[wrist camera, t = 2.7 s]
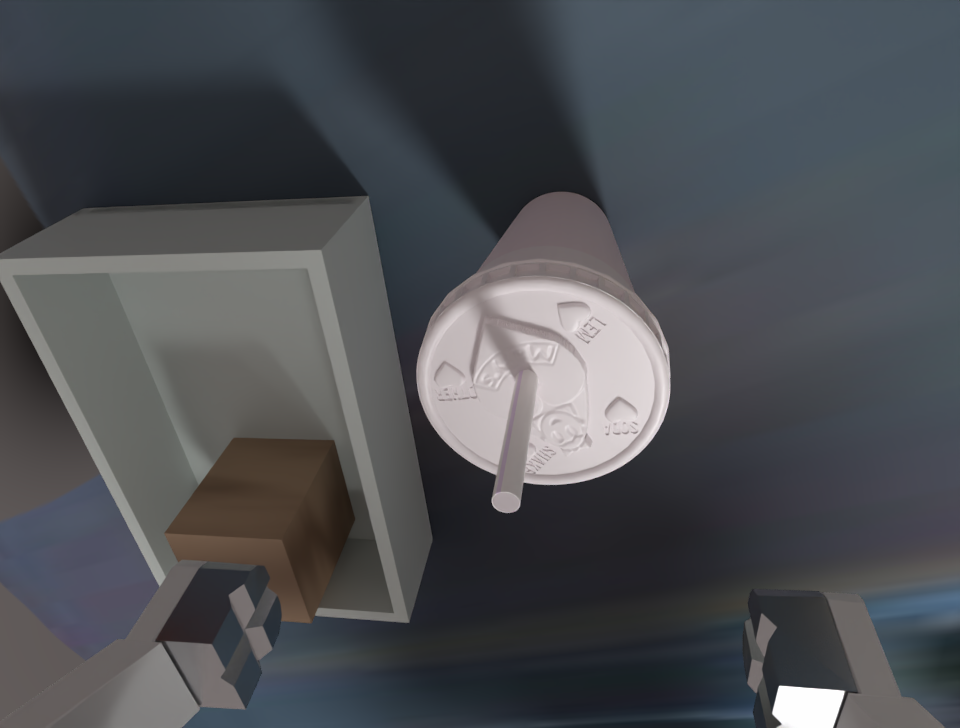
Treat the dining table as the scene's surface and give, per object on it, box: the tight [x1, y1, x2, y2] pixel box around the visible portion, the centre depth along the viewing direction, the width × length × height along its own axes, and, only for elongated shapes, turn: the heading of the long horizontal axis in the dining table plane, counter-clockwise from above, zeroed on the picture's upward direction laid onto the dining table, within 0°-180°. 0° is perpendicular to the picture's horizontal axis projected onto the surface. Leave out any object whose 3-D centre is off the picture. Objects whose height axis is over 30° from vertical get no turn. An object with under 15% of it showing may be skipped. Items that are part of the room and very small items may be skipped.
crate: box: [0, 196, 433, 623], centre depth 29 cm, size 18×12×5 cm, turn 5°
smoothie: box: [416, 192, 671, 513], centre depth 19 cm, size 6×6×14 cm
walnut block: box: [164, 438, 355, 623], centre depth 30 cm, size 5×5×6 cm
